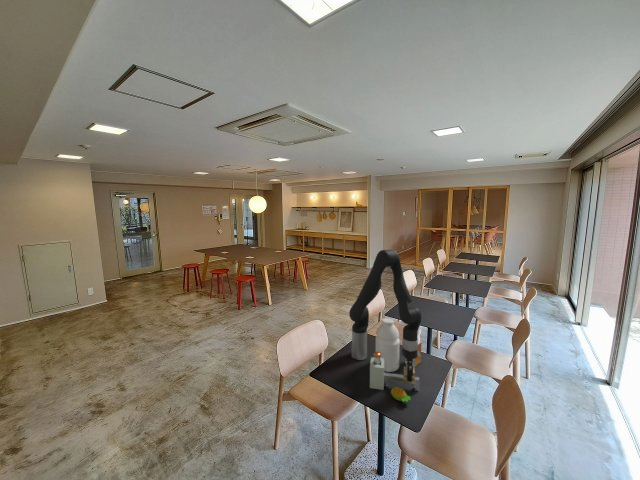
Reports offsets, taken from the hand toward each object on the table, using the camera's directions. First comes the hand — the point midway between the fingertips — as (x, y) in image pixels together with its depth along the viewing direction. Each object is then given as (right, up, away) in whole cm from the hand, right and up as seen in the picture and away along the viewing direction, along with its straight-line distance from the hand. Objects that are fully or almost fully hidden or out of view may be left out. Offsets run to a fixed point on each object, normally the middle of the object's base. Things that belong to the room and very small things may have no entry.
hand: (409, 377), depth 137 cm
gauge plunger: (-16, +2, +4) cm, 16 cm away
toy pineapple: (-7, -7, -8) cm, 13 cm away
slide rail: (-4, -6, +2) cm, 7 cm away
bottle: (-6, -4, +21) cm, 22 cm away
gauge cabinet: (-15, -6, +5) cm, 17 cm away
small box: (+10, -3, +23) cm, 25 cm away
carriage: (0, -2, 0) cm, 2 cm away
